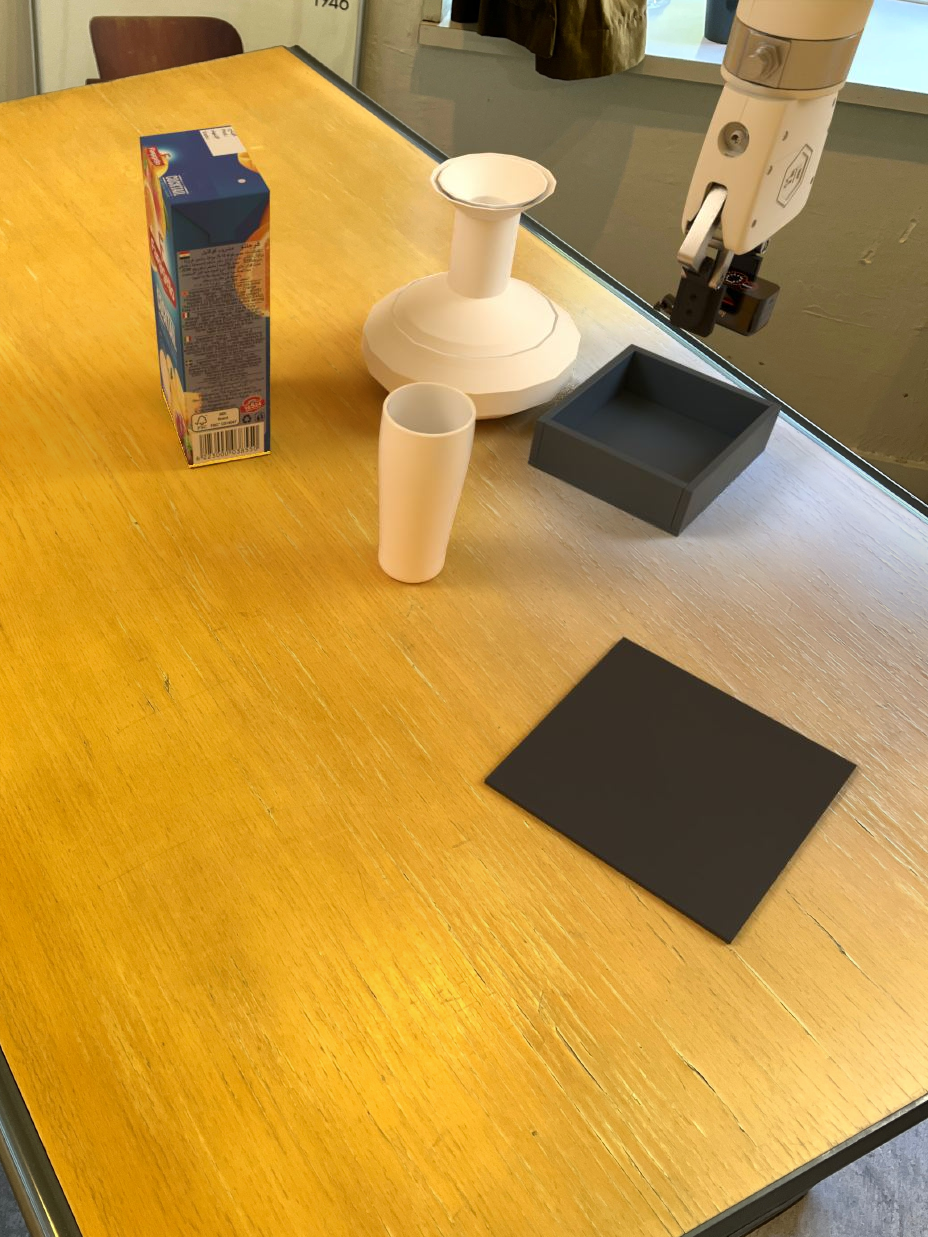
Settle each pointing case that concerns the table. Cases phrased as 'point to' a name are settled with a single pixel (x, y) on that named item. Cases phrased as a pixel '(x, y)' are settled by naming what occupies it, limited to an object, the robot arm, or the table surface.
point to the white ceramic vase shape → (478, 300)
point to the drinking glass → (421, 476)
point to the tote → (653, 437)
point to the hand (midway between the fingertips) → (708, 312)
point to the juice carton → (210, 289)
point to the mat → (674, 785)
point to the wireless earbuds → (739, 302)
